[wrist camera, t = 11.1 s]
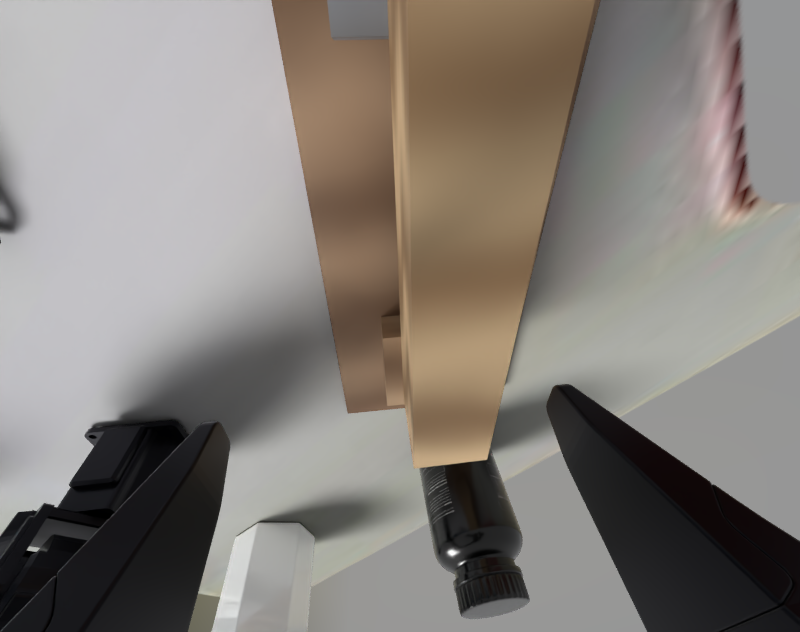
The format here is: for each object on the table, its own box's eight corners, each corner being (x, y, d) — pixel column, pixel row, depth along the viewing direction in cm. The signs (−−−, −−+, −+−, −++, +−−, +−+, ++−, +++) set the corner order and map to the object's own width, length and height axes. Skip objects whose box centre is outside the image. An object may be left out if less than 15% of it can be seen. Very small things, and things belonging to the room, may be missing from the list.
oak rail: (463, 388, 22) (487, 459, 18) (403, 394, 22) (414, 468, 18) (532, -167, 9) (677, -353, 5) (380, -168, 9) (402, -366, 5)
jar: (283, 555, 43) (263, 694, 34) (223, 542, 39) (181, 697, 30) (328, 529, 40) (320, 675, 31) (268, 513, 36) (238, 675, 26)
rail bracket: (496, 388, 27) (529, 464, 22) (348, 402, 26) (346, 485, 21) (667, -349, 9) (1078, -887, 4) (208, -380, 8) (-41, -1131, 3)
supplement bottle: (432, 473, 35) (461, 629, 25) (405, 441, 31) (427, 613, 21) (496, 451, 33) (552, 607, 24) (476, 415, 29) (534, 585, 20)
